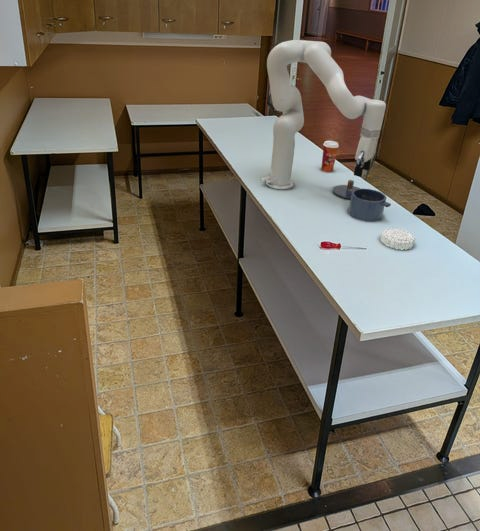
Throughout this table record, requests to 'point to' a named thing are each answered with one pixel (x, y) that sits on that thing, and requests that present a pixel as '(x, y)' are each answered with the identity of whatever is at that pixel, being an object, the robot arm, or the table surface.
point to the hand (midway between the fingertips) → (361, 172)
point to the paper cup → (329, 155)
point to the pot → (367, 204)
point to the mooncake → (397, 238)
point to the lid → (345, 189)
